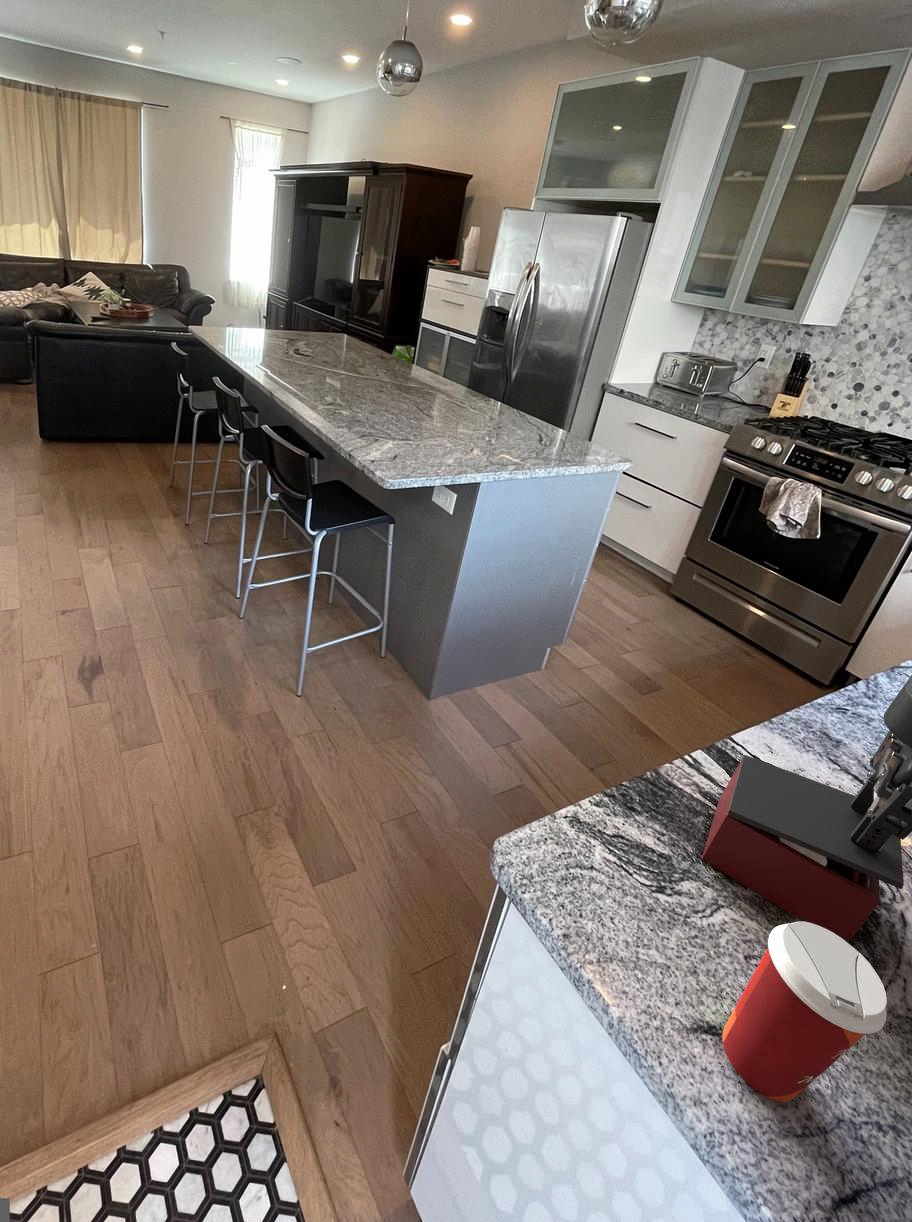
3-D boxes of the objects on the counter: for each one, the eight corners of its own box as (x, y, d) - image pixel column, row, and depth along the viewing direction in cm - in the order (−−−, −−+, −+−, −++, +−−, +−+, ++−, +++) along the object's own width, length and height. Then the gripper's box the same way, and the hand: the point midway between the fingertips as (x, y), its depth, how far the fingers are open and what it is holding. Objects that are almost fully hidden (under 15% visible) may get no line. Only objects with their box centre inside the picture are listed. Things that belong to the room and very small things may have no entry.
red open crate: (844, 876, 73) (877, 829, 69) (841, 951, 64) (880, 902, 61) (716, 804, 80) (741, 758, 77) (698, 863, 71) (726, 815, 68)
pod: (812, 872, 71) (828, 848, 70) (809, 900, 68) (826, 876, 66) (766, 846, 74) (781, 823, 72) (761, 871, 70) (777, 848, 69)
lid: (897, 816, 68) (911, 778, 66) (901, 889, 59) (918, 847, 58) (742, 758, 77) (751, 723, 75) (727, 815, 68) (737, 776, 66)
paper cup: (821, 1143, 49) (915, 1044, 43) (714, 1093, 51) (791, 992, 45) (792, 1036, 56) (869, 938, 50) (699, 995, 58) (763, 897, 52)
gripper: (903, 653, 66) (822, 770, 73) (911, 718, 55) (816, 848, 62) (997, 691, 62) (902, 811, 69) (1026, 770, 51) (910, 902, 58)
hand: (861, 828), depth 65 cm, fingers closed on lid, 5 cm apart
